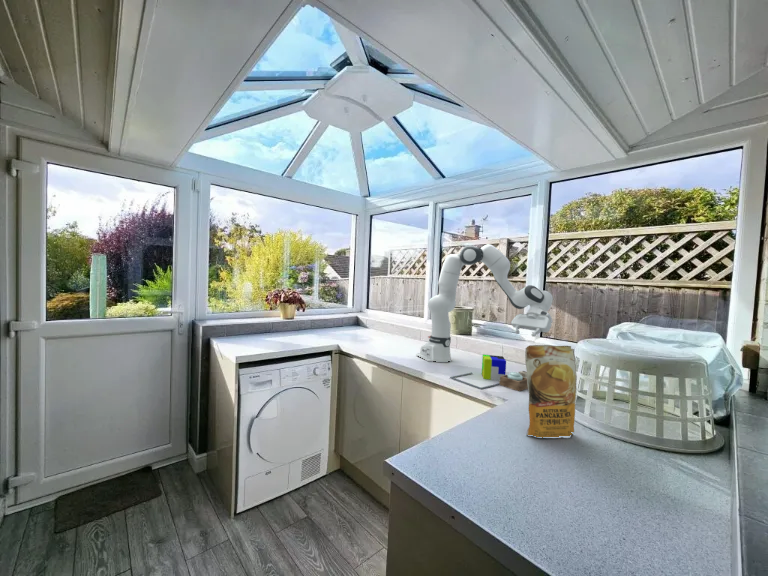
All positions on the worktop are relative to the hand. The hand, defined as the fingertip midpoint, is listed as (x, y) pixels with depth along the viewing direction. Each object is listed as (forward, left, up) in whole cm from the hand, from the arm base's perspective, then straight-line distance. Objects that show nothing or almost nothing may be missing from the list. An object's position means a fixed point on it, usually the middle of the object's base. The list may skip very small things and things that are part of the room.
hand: (524, 334), depth 170 cm
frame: (-4, -33, -21) cm, 40 cm away
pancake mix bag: (+43, -58, -21) cm, 76 cm away
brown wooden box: (+10, -20, -21) cm, 31 cm away
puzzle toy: (-4, -20, -21) cm, 30 cm away
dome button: (+10, -24, -18) cm, 32 cm away
